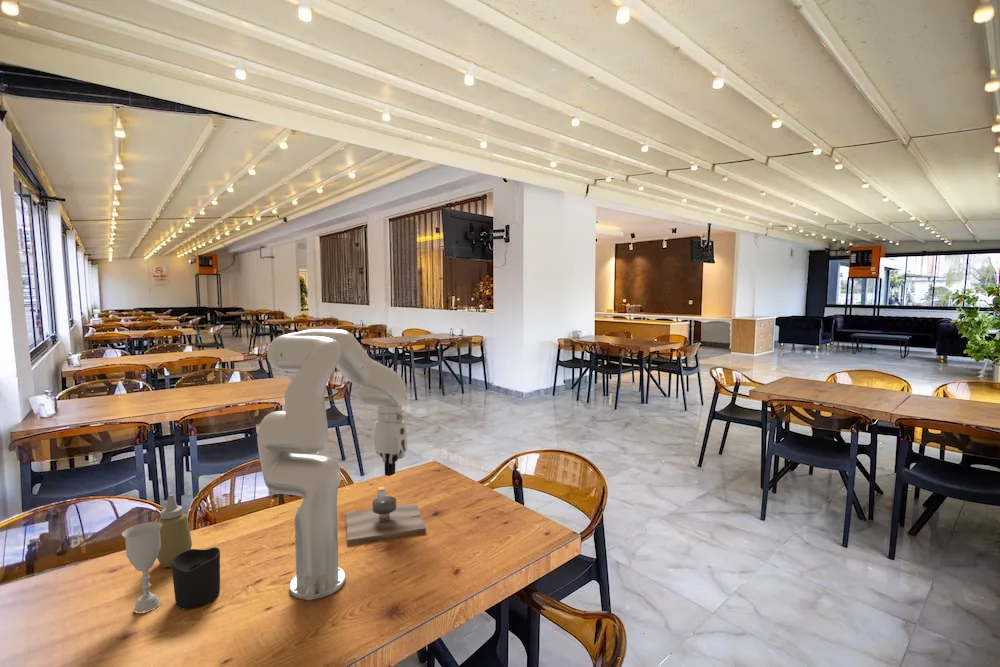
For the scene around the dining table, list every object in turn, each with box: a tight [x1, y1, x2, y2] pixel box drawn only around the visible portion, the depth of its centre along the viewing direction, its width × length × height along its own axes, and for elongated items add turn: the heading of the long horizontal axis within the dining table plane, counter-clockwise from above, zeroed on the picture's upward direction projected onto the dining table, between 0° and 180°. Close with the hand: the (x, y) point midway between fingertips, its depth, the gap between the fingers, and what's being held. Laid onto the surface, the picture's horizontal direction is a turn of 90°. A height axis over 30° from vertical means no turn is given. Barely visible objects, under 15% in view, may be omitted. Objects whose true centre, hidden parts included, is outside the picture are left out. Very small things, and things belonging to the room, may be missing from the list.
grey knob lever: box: [371, 486, 397, 514], centre depth 151 cm, size 7×16×5 cm, turn 19°
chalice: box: [121, 521, 163, 612], centre depth 108 cm, size 7×7×18 cm
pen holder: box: [171, 547, 221, 610], centre depth 111 cm, size 9×9×10 cm
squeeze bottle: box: [156, 494, 193, 569], centre depth 126 cm, size 8×8×18 cm
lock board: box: [346, 502, 427, 546], centre depth 147 cm, size 18×22×5 cm
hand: (389, 474), depth 154 cm, fingers closed
